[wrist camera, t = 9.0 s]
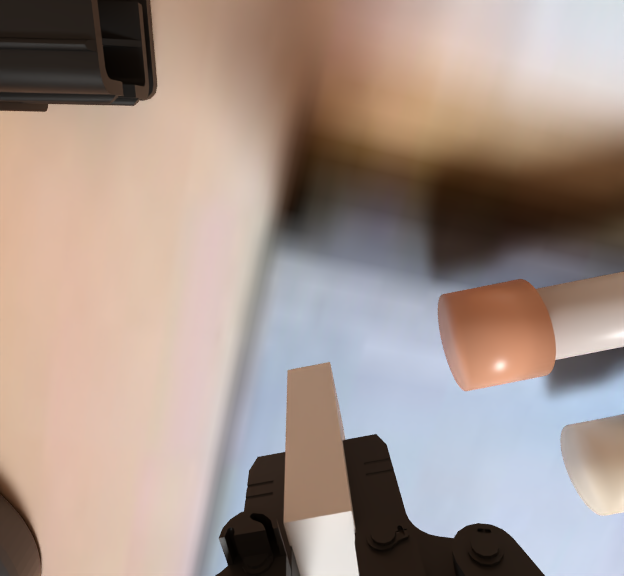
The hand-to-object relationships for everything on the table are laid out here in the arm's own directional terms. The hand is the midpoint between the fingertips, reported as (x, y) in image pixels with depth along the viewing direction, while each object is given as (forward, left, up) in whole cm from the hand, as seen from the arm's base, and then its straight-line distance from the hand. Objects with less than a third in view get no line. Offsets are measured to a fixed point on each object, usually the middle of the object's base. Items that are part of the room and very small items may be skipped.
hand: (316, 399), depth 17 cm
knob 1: (+13, 0, -4) cm, 14 cm away
